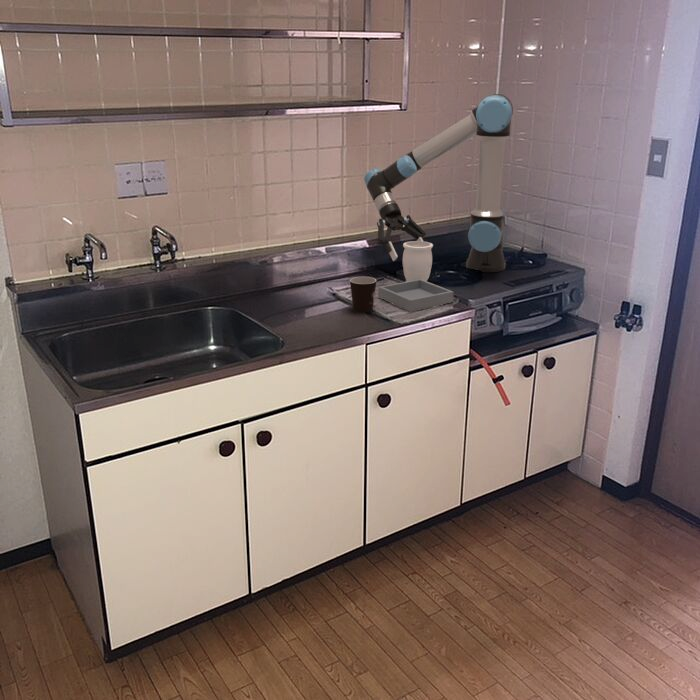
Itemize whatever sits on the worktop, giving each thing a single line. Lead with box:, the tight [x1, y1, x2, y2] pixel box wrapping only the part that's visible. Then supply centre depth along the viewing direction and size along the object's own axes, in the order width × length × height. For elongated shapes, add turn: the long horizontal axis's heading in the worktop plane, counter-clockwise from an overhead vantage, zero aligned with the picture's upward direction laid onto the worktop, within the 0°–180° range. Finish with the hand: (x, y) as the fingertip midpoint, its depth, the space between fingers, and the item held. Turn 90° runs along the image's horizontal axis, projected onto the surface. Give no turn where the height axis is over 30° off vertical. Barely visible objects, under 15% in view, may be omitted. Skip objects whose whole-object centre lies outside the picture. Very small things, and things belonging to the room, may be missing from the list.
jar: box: [402, 240, 434, 282], centre depth 275 cm, size 11×10×15 cm
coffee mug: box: [349, 276, 377, 314], centre depth 250 cm, size 12×9×10 cm
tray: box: [378, 279, 454, 313], centre depth 260 cm, size 18×18×4 cm
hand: (410, 256), depth 276 cm, fingers open, 13 cm apart
